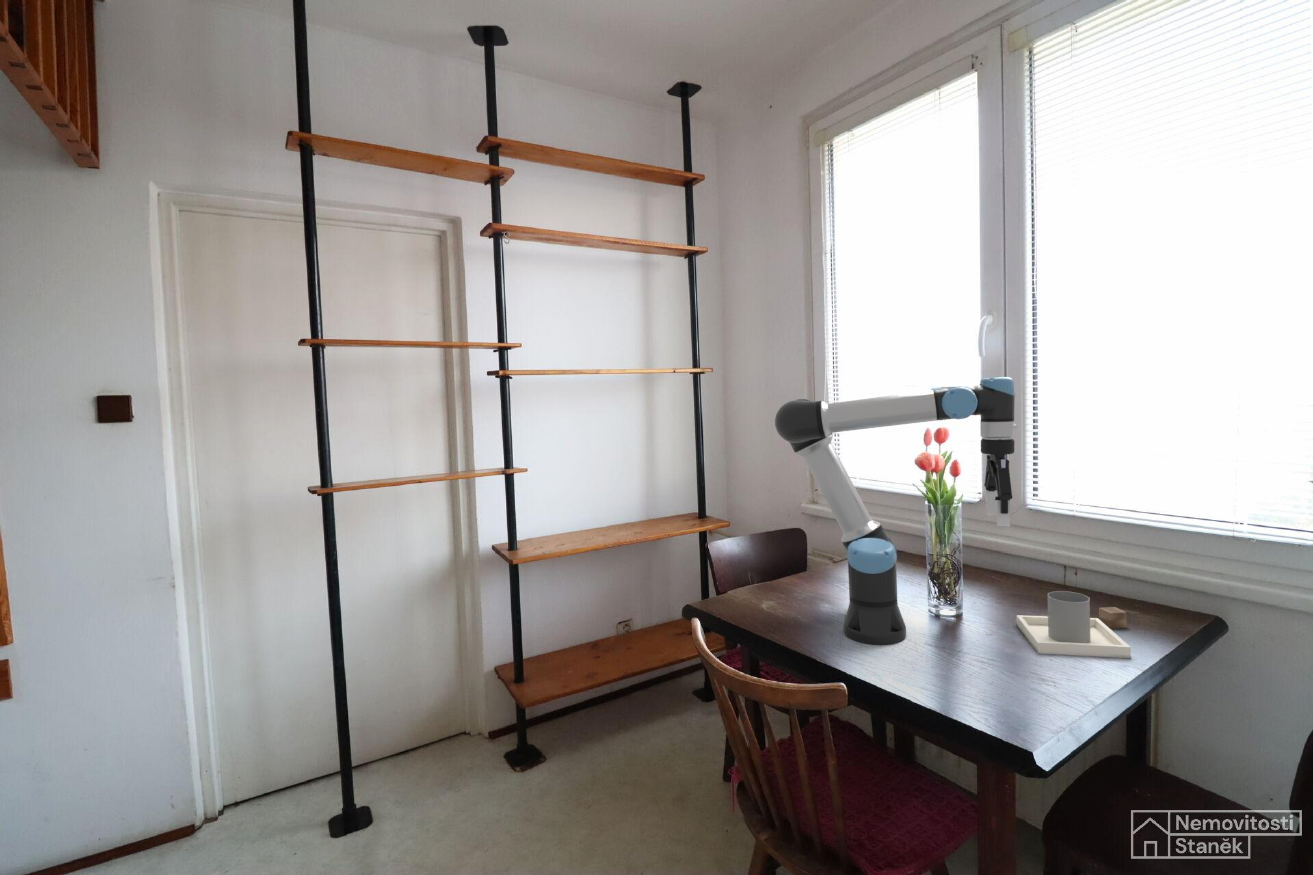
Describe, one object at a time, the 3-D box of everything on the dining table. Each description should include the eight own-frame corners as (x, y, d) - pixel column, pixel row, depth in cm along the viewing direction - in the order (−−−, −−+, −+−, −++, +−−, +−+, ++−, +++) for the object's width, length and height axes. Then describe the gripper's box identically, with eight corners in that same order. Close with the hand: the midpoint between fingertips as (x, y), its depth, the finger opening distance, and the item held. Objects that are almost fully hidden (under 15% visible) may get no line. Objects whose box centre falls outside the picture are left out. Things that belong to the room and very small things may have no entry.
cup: (1097, 645, 142) (1096, 602, 142) (1057, 644, 144) (1056, 602, 143) (1080, 631, 150) (1079, 591, 150) (1042, 630, 152) (1041, 590, 152)
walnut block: (1110, 628, 153) (1109, 613, 152) (1099, 623, 157) (1098, 607, 156) (1126, 628, 152) (1126, 612, 152) (1115, 622, 156) (1114, 606, 156)
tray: (1038, 653, 141) (1037, 642, 141) (1016, 624, 158) (1016, 615, 158) (1130, 658, 136) (1130, 647, 136) (1098, 628, 153) (1097, 618, 153)
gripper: (1026, 441, 144) (1026, 531, 145) (1003, 434, 168) (1003, 511, 169) (990, 442, 146) (990, 530, 148) (972, 434, 170) (972, 511, 171)
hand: (997, 520), depth 158 cm, fingers open, 13 cm apart
